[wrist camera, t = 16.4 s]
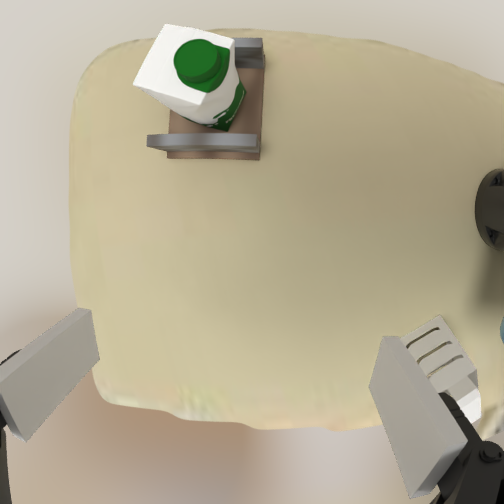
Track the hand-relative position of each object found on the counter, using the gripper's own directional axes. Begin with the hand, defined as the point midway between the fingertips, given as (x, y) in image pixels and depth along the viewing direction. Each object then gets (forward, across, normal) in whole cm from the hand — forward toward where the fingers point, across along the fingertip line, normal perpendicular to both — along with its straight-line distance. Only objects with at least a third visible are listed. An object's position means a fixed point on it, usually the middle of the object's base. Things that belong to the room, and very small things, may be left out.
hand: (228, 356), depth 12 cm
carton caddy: (+35, +8, -19) cm, 40 cm away
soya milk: (+34, +8, -19) cm, 40 cm away
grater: (+35, -32, +20) cm, 51 cm away
